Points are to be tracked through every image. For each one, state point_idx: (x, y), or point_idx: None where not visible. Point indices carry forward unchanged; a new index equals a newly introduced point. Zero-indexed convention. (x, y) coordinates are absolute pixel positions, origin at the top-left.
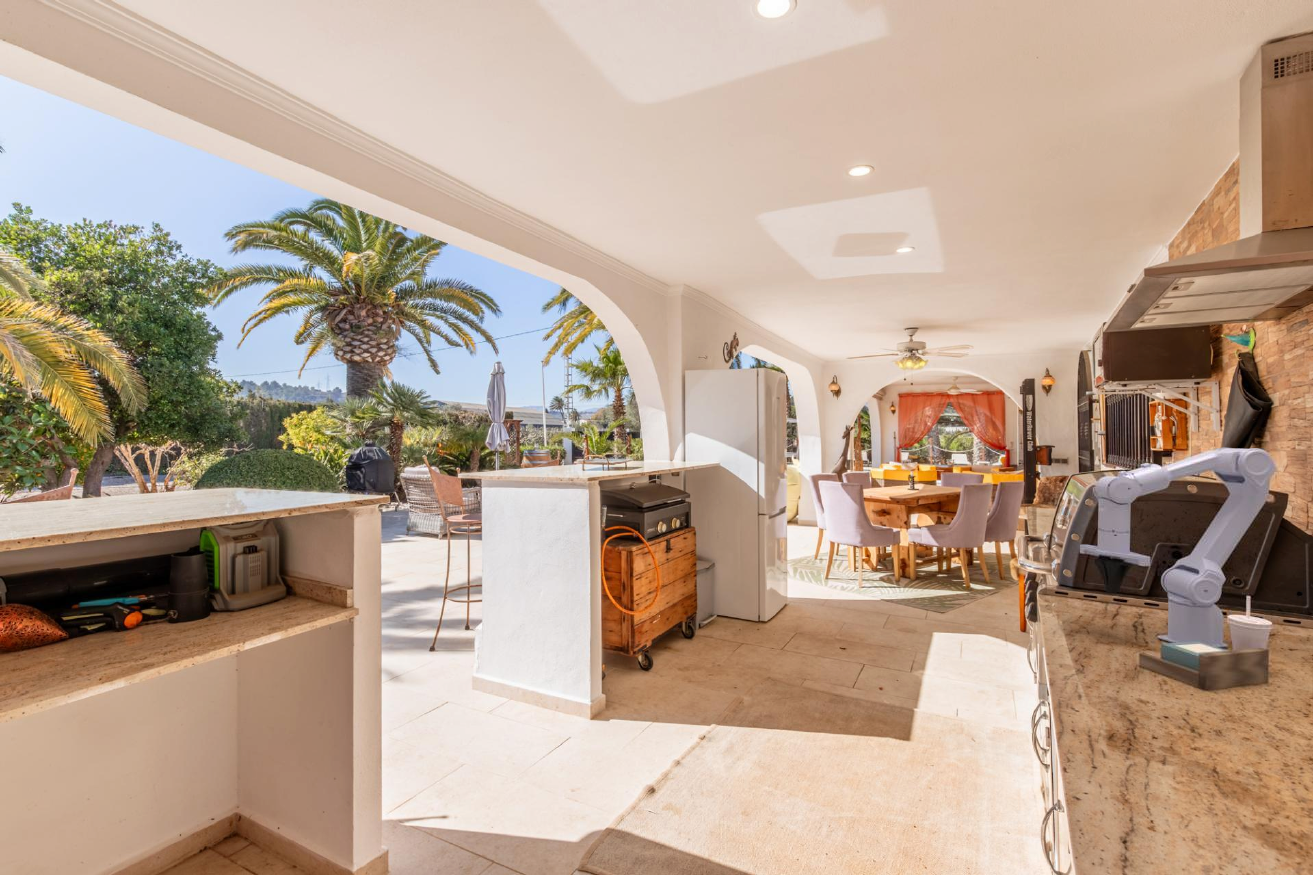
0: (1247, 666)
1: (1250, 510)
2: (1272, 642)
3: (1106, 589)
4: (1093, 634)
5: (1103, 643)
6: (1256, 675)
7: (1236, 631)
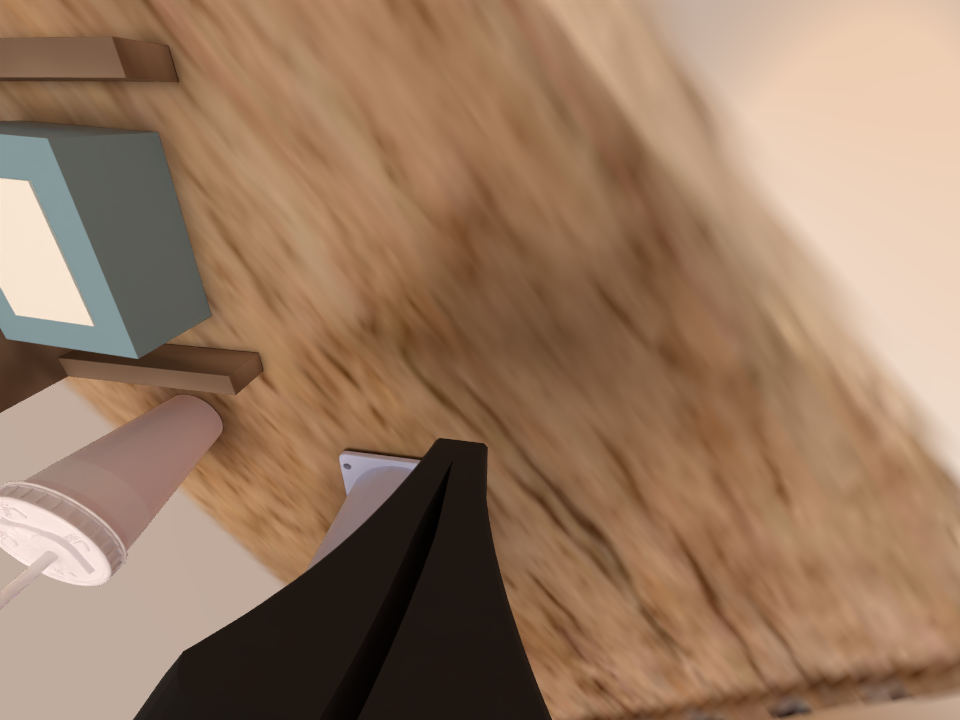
0: None
1: None
2: None
3: (475, 451)
4: (580, 299)
5: (466, 213)
6: None
7: (72, 469)
